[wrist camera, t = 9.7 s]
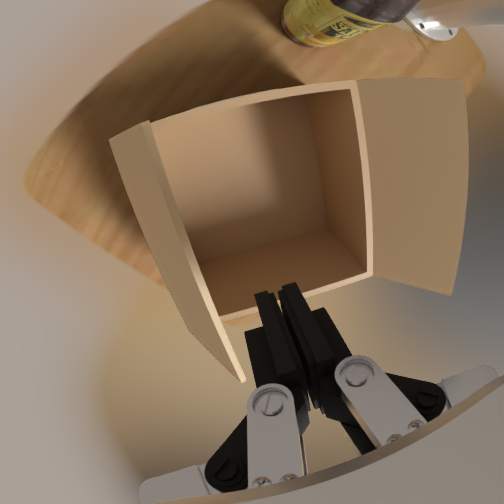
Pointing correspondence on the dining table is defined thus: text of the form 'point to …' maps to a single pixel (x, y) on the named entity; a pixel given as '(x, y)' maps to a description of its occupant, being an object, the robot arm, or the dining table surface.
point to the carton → (272, 191)
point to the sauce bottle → (339, 19)
